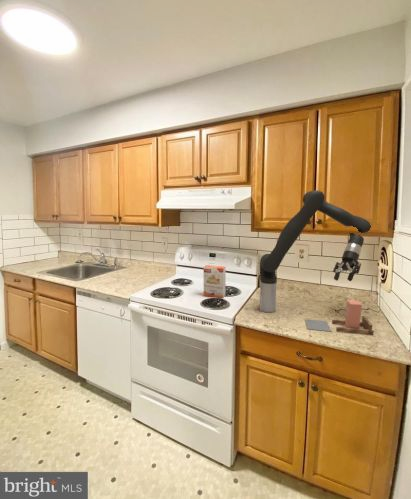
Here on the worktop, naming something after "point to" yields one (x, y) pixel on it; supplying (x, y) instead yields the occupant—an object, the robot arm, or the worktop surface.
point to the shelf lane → (364, 324)
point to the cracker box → (214, 281)
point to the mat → (317, 325)
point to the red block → (353, 314)
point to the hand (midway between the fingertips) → (342, 280)
